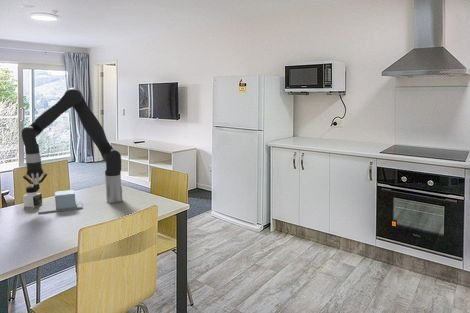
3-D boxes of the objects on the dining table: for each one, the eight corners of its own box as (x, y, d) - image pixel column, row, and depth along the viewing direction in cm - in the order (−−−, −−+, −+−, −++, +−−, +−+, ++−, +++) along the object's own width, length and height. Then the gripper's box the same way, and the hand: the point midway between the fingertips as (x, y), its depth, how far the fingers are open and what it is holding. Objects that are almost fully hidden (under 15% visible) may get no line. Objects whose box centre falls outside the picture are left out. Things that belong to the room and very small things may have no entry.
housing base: (81, 203, 222) (81, 199, 221) (82, 208, 211) (82, 205, 211) (40, 207, 212) (39, 204, 212) (38, 213, 201) (38, 210, 201)
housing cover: (75, 202, 219) (74, 189, 218) (75, 207, 210) (74, 193, 209) (56, 204, 215) (55, 191, 213) (56, 209, 206) (54, 195, 205)
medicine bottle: (34, 207, 213) (32, 188, 211) (23, 206, 214) (21, 187, 212) (42, 204, 220) (40, 185, 218) (32, 203, 221) (30, 184, 219)
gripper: (19, 163, 198) (23, 193, 201) (46, 161, 204) (49, 190, 207) (21, 161, 205) (24, 190, 208) (46, 158, 210) (50, 187, 214)
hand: (37, 190), depth 207 cm, fingers closed
